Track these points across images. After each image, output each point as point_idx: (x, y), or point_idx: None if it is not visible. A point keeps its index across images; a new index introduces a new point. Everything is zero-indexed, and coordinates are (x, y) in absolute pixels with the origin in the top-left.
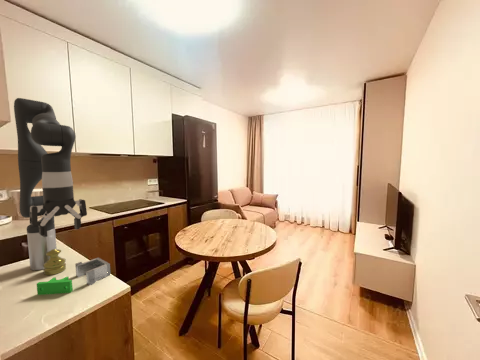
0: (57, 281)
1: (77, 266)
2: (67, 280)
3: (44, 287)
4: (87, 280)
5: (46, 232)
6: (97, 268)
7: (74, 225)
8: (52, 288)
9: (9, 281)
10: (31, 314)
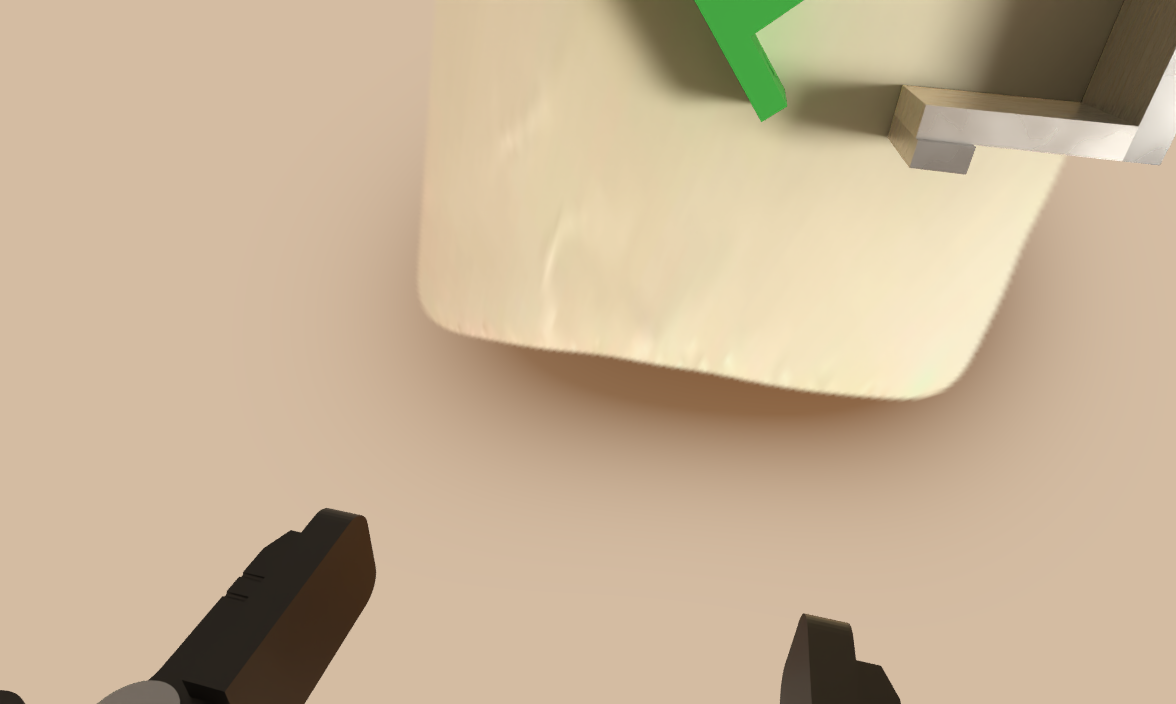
0: (717, 4)
1: None
2: (764, 79)
3: None
4: (903, 110)
5: (331, 645)
6: (1020, 144)
7: (809, 667)
8: None
9: None
10: (531, 140)
